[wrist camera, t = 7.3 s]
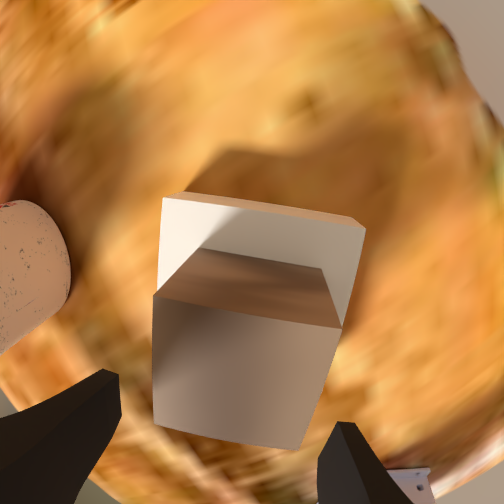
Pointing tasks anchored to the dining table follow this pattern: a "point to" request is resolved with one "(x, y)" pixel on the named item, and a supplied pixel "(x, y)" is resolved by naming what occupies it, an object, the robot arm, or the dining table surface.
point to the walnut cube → (242, 348)
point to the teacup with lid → (29, 270)
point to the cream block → (261, 237)
